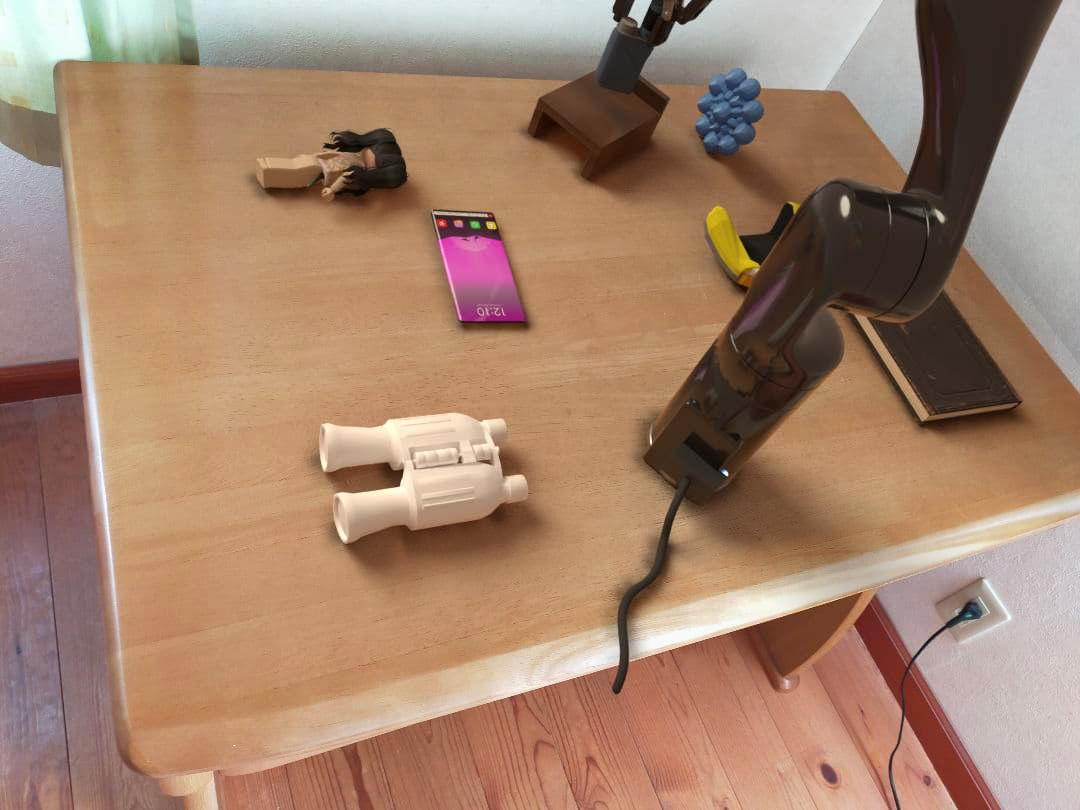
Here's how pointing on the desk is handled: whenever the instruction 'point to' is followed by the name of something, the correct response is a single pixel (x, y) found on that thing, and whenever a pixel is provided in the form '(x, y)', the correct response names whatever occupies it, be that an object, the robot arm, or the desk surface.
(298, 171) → the toy figure
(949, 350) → the hardcover book
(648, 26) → the vaping device
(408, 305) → the desk surface
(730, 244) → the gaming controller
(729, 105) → the grapes
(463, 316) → the smartphone
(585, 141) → the shelf
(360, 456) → the binoculars
